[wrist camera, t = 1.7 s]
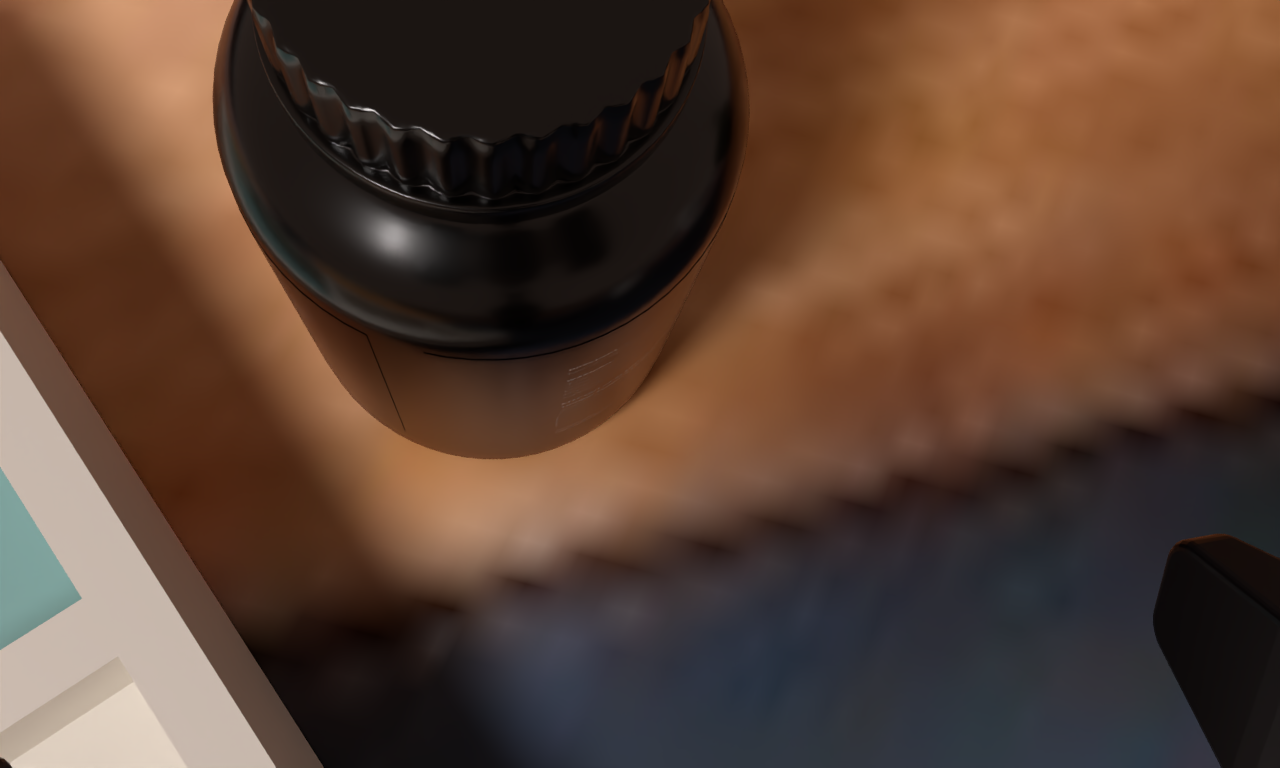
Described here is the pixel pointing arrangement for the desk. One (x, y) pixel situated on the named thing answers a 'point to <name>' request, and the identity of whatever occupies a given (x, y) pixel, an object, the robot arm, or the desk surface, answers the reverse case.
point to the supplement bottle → (484, 196)
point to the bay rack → (108, 598)
